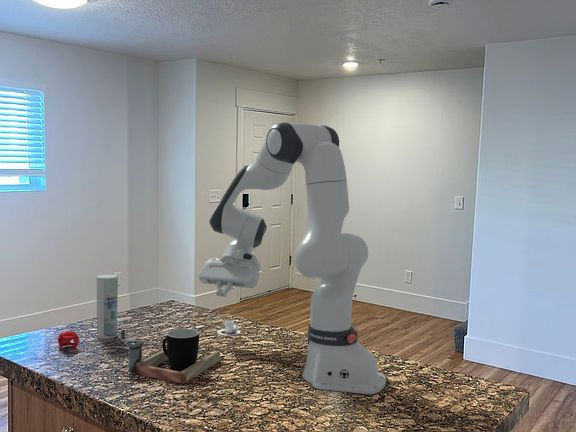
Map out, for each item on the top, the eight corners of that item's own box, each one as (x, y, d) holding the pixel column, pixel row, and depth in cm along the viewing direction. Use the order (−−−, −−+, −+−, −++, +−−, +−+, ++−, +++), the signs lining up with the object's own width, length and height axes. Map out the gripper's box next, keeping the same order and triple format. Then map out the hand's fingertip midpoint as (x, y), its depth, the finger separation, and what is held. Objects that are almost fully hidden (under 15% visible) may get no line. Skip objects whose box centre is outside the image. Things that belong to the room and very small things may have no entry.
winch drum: (147, 368, 151) (147, 331, 150) (136, 373, 146) (137, 335, 145) (126, 364, 153) (127, 327, 152) (115, 369, 149) (116, 331, 148)
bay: (220, 360, 158) (220, 350, 158) (183, 383, 141) (184, 372, 140) (176, 353, 164) (176, 343, 163) (136, 374, 146) (136, 363, 146)
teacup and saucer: (231, 328, 193) (231, 317, 193) (246, 333, 188) (247, 321, 187) (212, 333, 186) (212, 321, 186) (228, 338, 181) (228, 326, 181)
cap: (55, 346, 167) (55, 329, 166) (74, 343, 170) (74, 326, 169) (62, 353, 161) (61, 335, 160) (81, 350, 164) (81, 332, 164)
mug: (205, 367, 153) (206, 331, 152) (183, 376, 145) (183, 339, 144) (174, 358, 159) (174, 324, 158) (151, 367, 152) (151, 331, 151)
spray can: (107, 332, 183) (107, 273, 181) (121, 335, 180) (121, 275, 178) (92, 337, 177) (92, 276, 175) (107, 340, 174) (107, 278, 172)
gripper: (204, 252, 182) (188, 286, 173) (259, 256, 174) (246, 292, 165) (211, 263, 186) (195, 297, 178) (265, 268, 178) (252, 303, 170)
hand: (220, 295), depth 171 cm, fingers closed
